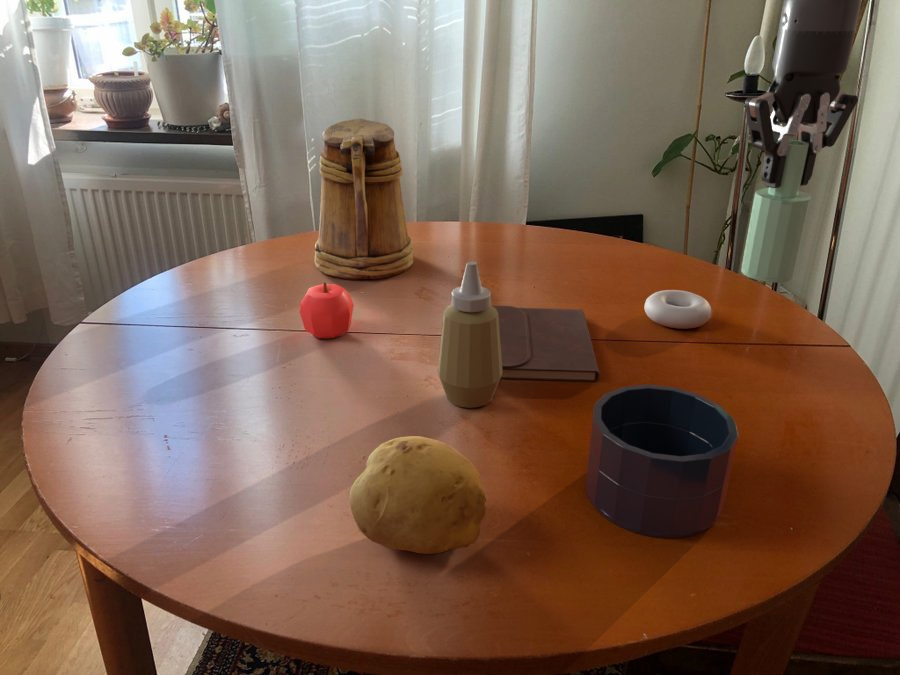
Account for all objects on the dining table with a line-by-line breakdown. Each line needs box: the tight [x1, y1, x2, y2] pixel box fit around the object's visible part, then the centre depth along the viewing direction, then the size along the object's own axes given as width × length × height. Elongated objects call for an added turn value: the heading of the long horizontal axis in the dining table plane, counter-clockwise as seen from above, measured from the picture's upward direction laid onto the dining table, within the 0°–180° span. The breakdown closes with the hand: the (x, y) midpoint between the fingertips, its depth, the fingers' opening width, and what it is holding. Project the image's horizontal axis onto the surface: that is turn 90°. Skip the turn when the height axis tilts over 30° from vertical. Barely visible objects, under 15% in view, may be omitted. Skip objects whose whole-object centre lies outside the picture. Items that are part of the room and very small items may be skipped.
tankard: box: [313, 117, 415, 281], centre depth 129 cm, size 18×24×25 cm
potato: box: [348, 435, 487, 555], centre depth 69 cm, size 10×12×10 cm
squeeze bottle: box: [437, 261, 503, 409], centre depth 90 cm, size 8×8×18 cm
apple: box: [299, 281, 354, 340], centre depth 109 cm, size 8×8×8 cm
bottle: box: [740, 139, 812, 284], centre depth 88 cm, size 6×6×16 cm
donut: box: [643, 289, 712, 330], centre depth 114 cm, size 10×4×10 cm
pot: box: [585, 384, 739, 539], centre depth 74 cm, size 14×14×9 cm
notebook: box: [492, 305, 601, 383], centre depth 106 cm, size 15×20×2 cm
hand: (785, 184), depth 87 cm, fingers closed on bottle, 3 cm apart
